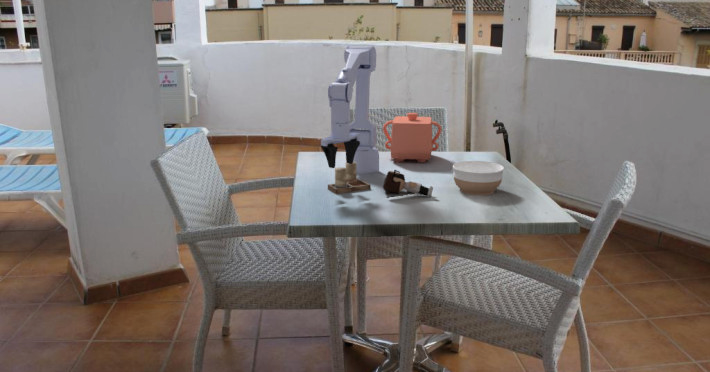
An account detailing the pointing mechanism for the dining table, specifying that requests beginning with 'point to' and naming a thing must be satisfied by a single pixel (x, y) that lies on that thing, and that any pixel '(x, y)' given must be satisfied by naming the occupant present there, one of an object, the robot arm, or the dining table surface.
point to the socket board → (350, 187)
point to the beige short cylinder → (351, 172)
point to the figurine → (403, 185)
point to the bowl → (477, 177)
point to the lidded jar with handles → (411, 137)
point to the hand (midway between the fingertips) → (340, 165)
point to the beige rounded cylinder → (340, 177)
